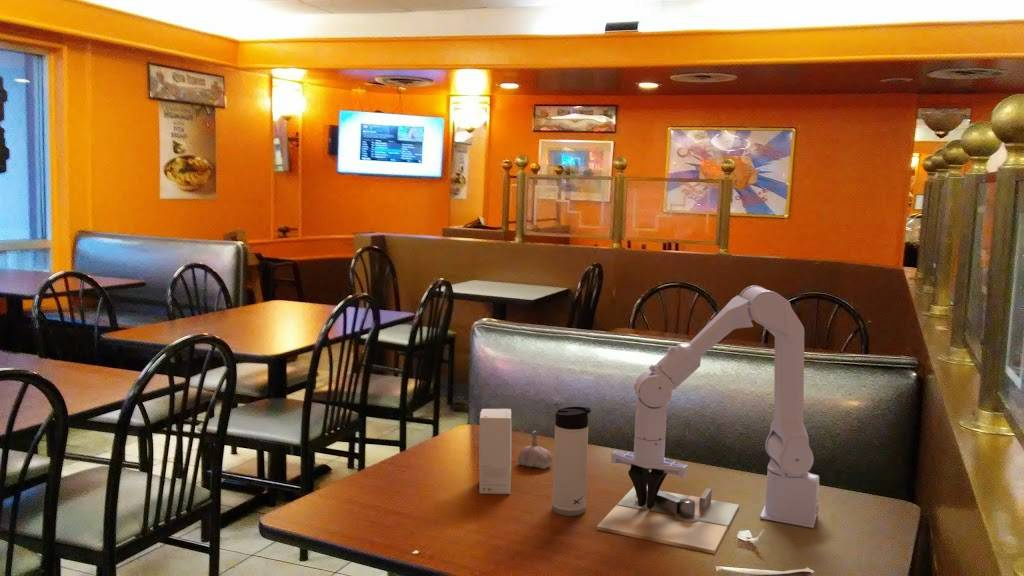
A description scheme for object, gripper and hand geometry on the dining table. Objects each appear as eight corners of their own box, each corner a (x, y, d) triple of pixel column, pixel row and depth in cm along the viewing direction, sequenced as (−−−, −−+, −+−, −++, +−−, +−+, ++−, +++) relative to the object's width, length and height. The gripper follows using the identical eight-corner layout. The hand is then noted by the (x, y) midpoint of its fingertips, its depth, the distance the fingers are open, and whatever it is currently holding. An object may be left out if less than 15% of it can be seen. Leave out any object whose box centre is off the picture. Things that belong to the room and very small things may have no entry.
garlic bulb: (511, 464, 181) (512, 429, 180) (537, 458, 185) (537, 424, 184) (532, 474, 175) (533, 438, 174) (558, 468, 179) (559, 432, 178)
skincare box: (510, 495, 162) (511, 418, 160) (476, 494, 162) (478, 418, 160) (511, 480, 170) (512, 407, 169) (479, 479, 170) (480, 406, 169)
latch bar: (697, 515, 151) (698, 502, 150) (687, 519, 149) (688, 505, 149) (644, 494, 161) (644, 481, 160) (634, 497, 159) (635, 484, 159)
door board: (738, 507, 158) (739, 490, 158) (714, 553, 138) (715, 534, 137) (634, 488, 167) (634, 472, 167) (596, 529, 146) (597, 511, 146)
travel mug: (585, 518, 151) (588, 413, 149) (550, 514, 153) (553, 410, 150) (588, 505, 157) (592, 404, 155) (555, 502, 159) (558, 402, 156)
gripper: (694, 437, 153) (690, 507, 154) (622, 424, 160) (619, 491, 162) (681, 447, 147) (677, 519, 148) (607, 433, 154) (604, 502, 156)
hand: (646, 506), depth 155 cm, fingers closed
